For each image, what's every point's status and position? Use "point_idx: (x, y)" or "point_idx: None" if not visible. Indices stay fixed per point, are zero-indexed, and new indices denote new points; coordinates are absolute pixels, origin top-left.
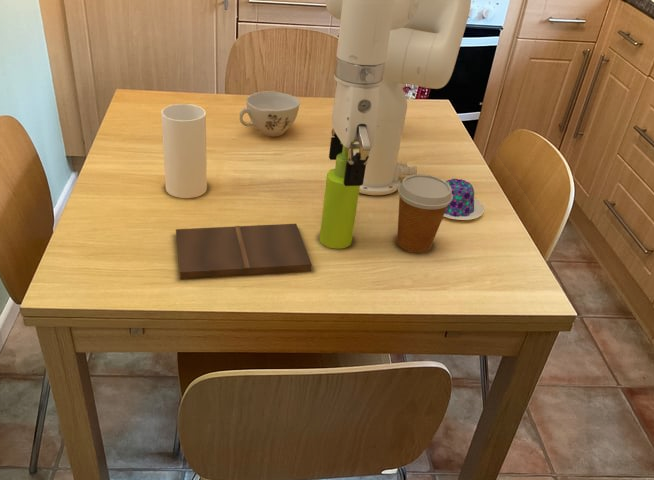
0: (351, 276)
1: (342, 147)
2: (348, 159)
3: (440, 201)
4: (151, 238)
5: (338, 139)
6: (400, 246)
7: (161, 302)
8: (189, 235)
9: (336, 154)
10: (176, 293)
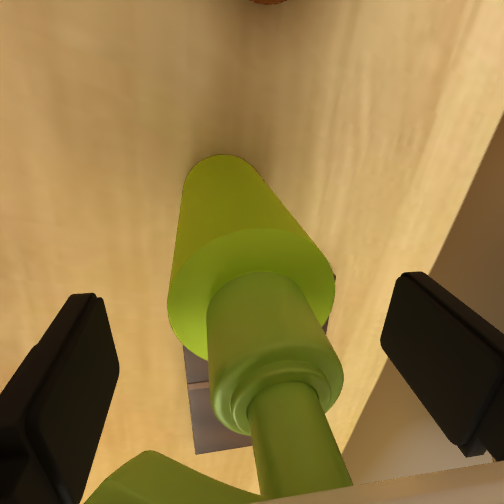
0: (365, 193)
1: (79, 387)
2: (328, 394)
3: None
4: (200, 462)
5: (65, 485)
6: (282, 1)
7: (343, 433)
8: (215, 439)
9: (107, 372)
10: (330, 424)
